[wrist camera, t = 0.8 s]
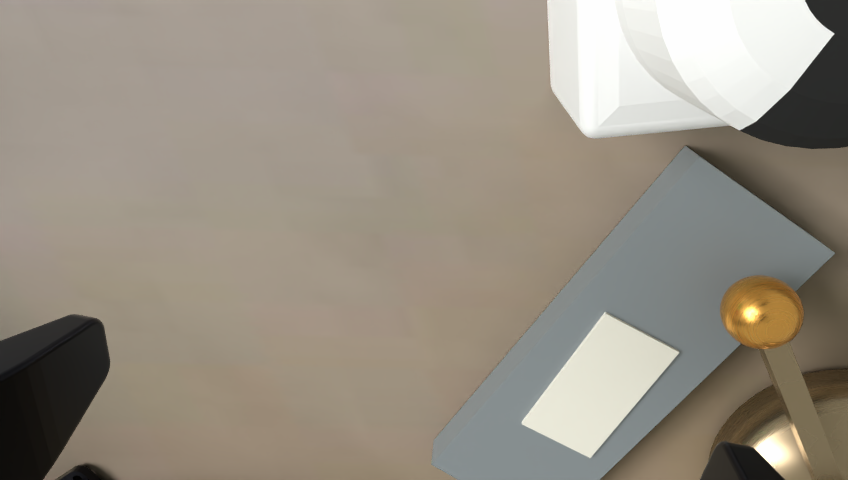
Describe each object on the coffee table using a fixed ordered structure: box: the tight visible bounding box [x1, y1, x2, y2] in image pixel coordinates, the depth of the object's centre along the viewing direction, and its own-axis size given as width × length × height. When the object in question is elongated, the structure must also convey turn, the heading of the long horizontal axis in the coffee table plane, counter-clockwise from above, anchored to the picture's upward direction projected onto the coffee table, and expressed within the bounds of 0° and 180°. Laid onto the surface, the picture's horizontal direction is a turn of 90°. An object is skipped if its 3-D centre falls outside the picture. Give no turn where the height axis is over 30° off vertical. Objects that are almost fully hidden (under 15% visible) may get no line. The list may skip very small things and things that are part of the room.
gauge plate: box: [431, 146, 835, 480], centre depth 24 cm, size 16×6×2 cm, turn 147°
